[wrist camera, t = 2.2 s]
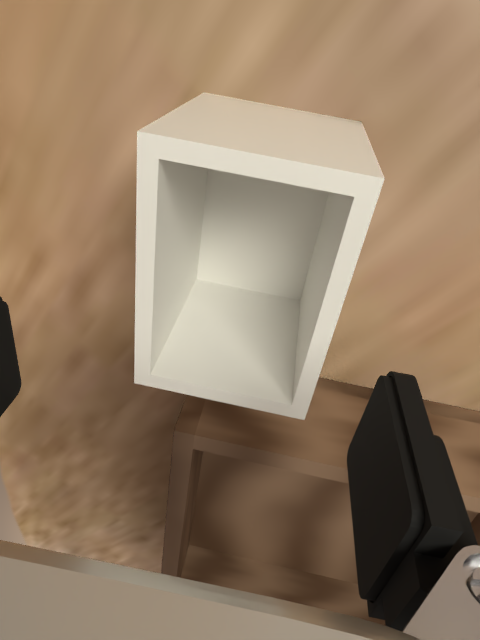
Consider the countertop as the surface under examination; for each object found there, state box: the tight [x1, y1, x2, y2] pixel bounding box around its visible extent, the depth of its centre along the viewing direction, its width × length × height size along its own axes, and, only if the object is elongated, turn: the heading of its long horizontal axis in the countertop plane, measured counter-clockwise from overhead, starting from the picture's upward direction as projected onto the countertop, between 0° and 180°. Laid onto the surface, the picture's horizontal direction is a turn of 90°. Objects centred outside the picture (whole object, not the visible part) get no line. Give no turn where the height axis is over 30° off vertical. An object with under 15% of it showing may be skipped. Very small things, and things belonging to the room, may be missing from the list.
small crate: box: [134, 92, 385, 420], centre depth 17 cm, size 6×9×8 cm
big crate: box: [161, 378, 480, 626], centre depth 29 cm, size 20×20×6 cm
